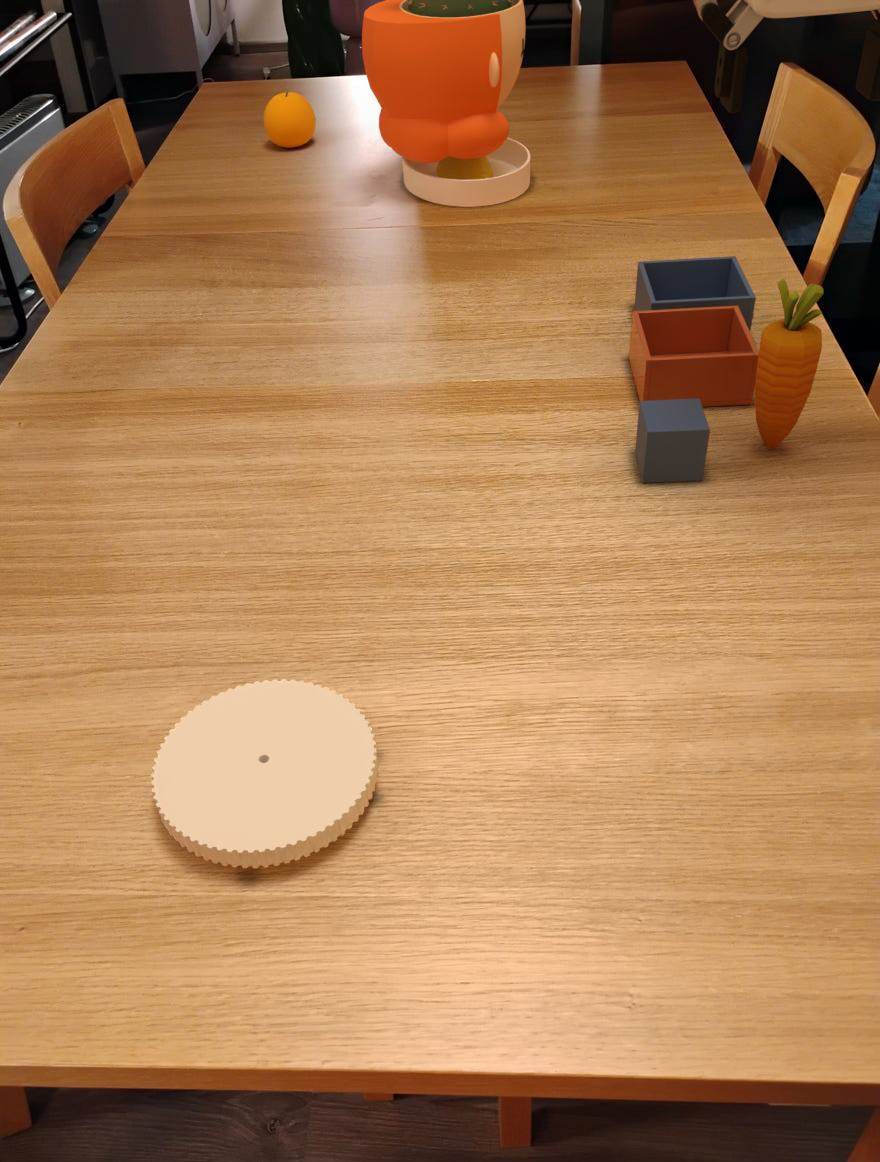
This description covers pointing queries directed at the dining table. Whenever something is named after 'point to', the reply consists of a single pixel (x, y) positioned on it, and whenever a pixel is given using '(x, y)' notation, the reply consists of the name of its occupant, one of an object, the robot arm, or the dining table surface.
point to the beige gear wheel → (265, 773)
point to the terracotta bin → (693, 355)
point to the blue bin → (694, 285)
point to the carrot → (787, 364)
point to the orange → (289, 120)
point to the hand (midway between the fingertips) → (798, 101)
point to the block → (671, 440)
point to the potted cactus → (449, 95)
